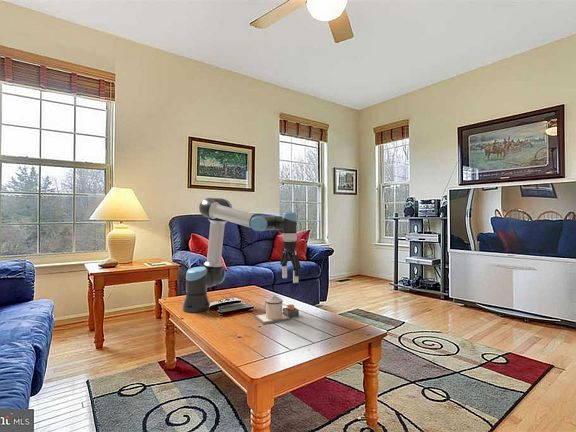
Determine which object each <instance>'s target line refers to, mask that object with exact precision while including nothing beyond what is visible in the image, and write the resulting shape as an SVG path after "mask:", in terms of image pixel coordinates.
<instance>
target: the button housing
mask: <svg viewBox="0 0 576 432" xmlns="http://www.w3.org/2000/svg"><path fill="white" fill-rule="evenodd" d="M282 313H283V314H285V315H286V316H288V317H290V318H291V319H292V318H296V317H299V316H300V314H299V313H300V310H299V309H298V308H297V307H295V306H294V310H291V311H288V310H287V307H282Z"/></svg>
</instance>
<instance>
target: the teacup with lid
mask: <svg viewBox="0 0 576 432" xmlns="http://www.w3.org/2000/svg"><path fill="white" fill-rule="evenodd" d="M283 302H284V301H283V299H282V298H279V297H278V296H277V295H276V294H272V296H271V297H269V298H266V300H265V301H264V308H265V314H266V318H267V319H270V320H278V319H281V318H282V313H283Z"/></svg>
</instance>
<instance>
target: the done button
mask: <svg viewBox="0 0 576 432" xmlns="http://www.w3.org/2000/svg"><path fill="white" fill-rule="evenodd" d="M294 307H295V305H294V304H292V303H289V304H287V306H286V308H287V310H288V311H291V310H294Z"/></svg>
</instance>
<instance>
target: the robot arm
mask: <svg viewBox="0 0 576 432" xmlns="http://www.w3.org/2000/svg"><path fill="white" fill-rule="evenodd" d="M198 209H199V213H200V214H201V215H202V217H205V218H207V219H208V221H209V223H210V224H209V235H208V244H207V257H206V261H205V262H204V263H203V266H194V267H191V268H188V269H187V271H186V273H185V298H184V301H183V303H182V310H183V312H186V313H201V312H205V311H208V310H210V308H209V306H210V307H211V303H210V301H209V297H208V288H212V287H215V286H218V285H220V284H222V283H223V282H224V281H225V279H226V274H227V272H226V270H225V268H224V264H223V262H222V254H223V244H224V243H223V242H224V234H225V226H226V224H227V222H230V223H234V224H237V225H239V226H240V225H241V226H243V227H246V228H250V229H252V230H253V231H255V232H263V231H264V232H265V231H272V230H273V231H277V230H278V231H279V230H280V231H282V240H283V242H282V253H281V257H280V262H279V264H280V265H281V277H282V279H288V261H289V260H290V262H291V265H292V268H293V269H292V283H293V284H295V283H297V284H298V283H299V270H301V269H302V268H301V262H300V258H299V253H298V252H299V251H298V250H295V249H297V248H298V246H297V245H298V243H297V239H298V238H297V236H298V234H297V233H298V232H297V230H298V229H297V226H298V224H297V223H298V219H297V213H296V212H283V213H282V216H280V215H279V216H278V215H267V216H266V215H265V216H262V215H260V214H259V215H258V214H257V213H252V212H248V211H244V210H240V209H236V208H233V206H232V203H231V202H230V201H229V200H228V199H225V198H219V197H207V198H204V199H202V200H201V202H200V203H199V206H198Z"/></svg>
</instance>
